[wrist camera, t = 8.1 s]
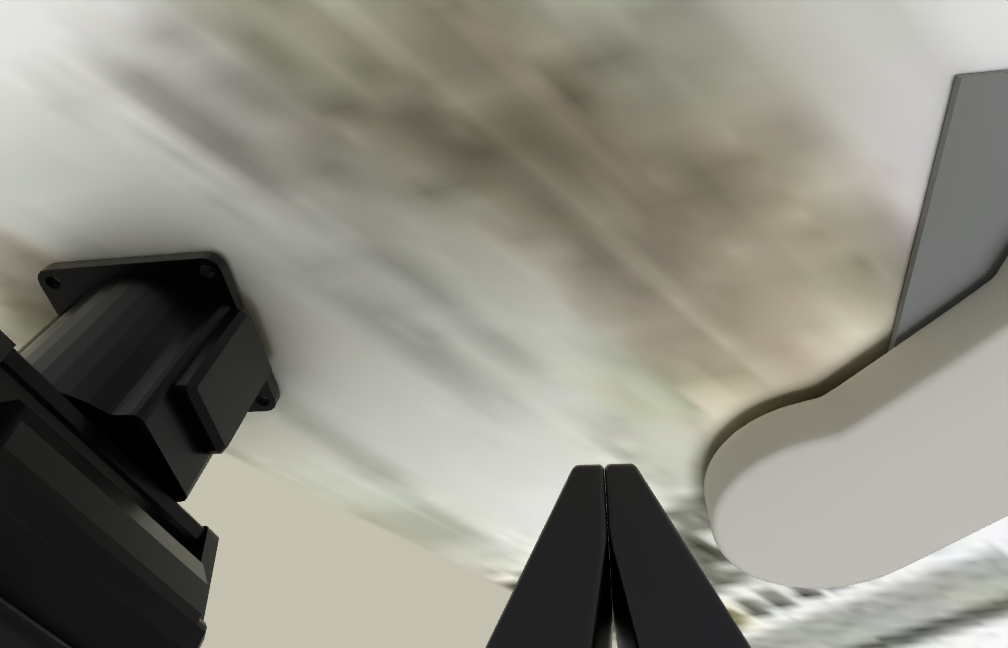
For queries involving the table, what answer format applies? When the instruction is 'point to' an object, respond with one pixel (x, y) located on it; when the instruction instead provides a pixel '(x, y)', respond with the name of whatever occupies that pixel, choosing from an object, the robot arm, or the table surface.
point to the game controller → (874, 459)
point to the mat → (961, 206)
